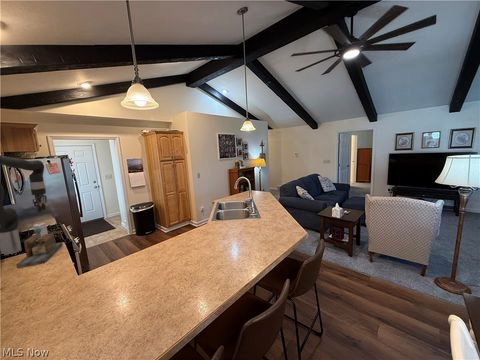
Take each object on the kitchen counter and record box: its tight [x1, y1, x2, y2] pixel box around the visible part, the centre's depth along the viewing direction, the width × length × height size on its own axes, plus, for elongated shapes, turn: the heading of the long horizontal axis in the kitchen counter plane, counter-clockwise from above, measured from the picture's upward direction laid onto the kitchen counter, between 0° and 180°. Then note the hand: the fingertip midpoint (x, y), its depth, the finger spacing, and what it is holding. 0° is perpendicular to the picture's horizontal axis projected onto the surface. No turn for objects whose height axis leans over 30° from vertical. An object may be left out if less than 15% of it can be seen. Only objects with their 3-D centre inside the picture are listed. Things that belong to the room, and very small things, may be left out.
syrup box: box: [32, 222, 49, 243], centre depth 170 cm, size 6×6×14 cm
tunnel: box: [16, 232, 64, 269], centre depth 144 cm, size 14×28×14 cm, turn 22°
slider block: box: [32, 228, 46, 255], centre depth 143 cm, size 7×6×17 cm
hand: (41, 210), depth 149 cm, fingers open, 4 cm apart
